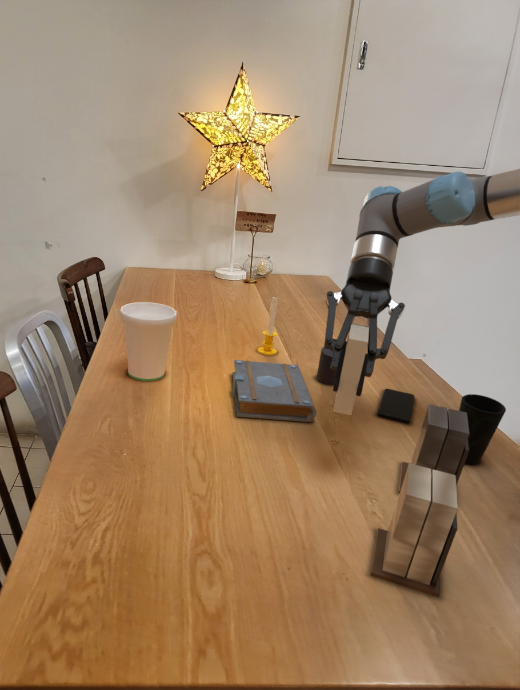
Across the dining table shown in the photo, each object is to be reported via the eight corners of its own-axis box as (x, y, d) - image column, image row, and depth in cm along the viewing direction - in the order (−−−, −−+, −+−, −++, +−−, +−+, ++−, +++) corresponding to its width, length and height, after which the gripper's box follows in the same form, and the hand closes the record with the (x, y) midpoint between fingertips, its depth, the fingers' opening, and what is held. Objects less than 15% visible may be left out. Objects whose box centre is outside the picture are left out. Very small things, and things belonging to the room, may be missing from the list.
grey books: (451, 478, 98) (475, 412, 92) (453, 509, 90) (479, 438, 83) (401, 464, 100) (420, 399, 94) (398, 494, 92) (419, 424, 86)
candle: (268, 347, 149) (276, 292, 142) (280, 354, 145) (289, 297, 138) (253, 349, 146) (261, 293, 139) (265, 356, 142) (273, 299, 135)
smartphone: (377, 413, 117) (385, 387, 129) (376, 416, 117) (384, 390, 130) (410, 421, 115) (414, 394, 127) (409, 424, 115) (413, 397, 128)
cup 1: (168, 362, 132) (172, 302, 125) (177, 385, 122) (181, 320, 115) (117, 363, 129) (117, 301, 122) (121, 385, 118) (122, 319, 111)
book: (314, 424, 111) (318, 402, 109) (234, 418, 110) (237, 396, 108) (298, 381, 130) (301, 362, 128) (230, 375, 129) (232, 356, 127)
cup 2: (456, 469, 101) (476, 413, 96) (436, 447, 108) (453, 393, 102) (493, 468, 102) (515, 413, 97) (470, 447, 109) (489, 394, 104)
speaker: (325, 370, 137) (333, 334, 131) (346, 379, 134) (355, 342, 128) (310, 381, 132) (318, 344, 126) (331, 390, 129) (340, 352, 123)
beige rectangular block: (353, 395, 96) (369, 326, 90) (351, 415, 89) (368, 341, 83) (336, 392, 97) (350, 323, 91) (332, 411, 90) (348, 338, 84)
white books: (438, 550, 80) (466, 474, 74) (438, 598, 71) (470, 516, 65) (376, 532, 82) (399, 456, 76) (370, 576, 74) (394, 495, 68)
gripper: (413, 287, 96) (393, 408, 89) (324, 273, 100) (297, 389, 93) (423, 262, 89) (402, 392, 82) (326, 248, 93) (298, 372, 86)
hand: (347, 390), depth 87 cm, fingers closed on beige rectangular block, 3 cm apart
